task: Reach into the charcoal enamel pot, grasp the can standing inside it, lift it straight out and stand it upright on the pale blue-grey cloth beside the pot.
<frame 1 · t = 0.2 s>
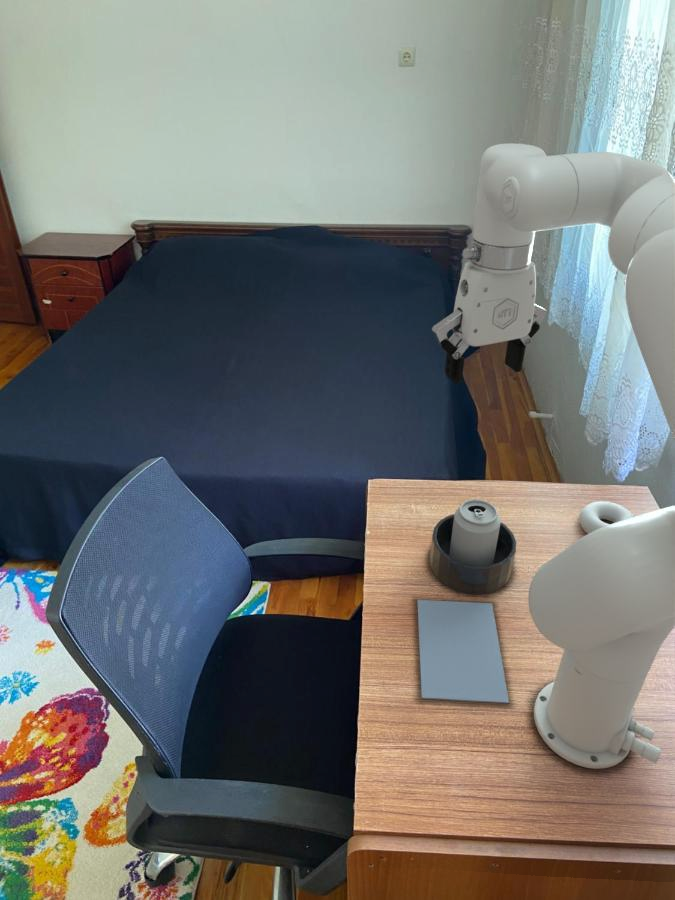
hand: (483, 373, 90), 37 cm above the table, tool pointing down, fingers open, 9 cm apart
can: (470, 564, 111), resting on pot
donut: (605, 529, 119), on the table
cloth: (459, 648, 97), on the table
pot: (470, 564, 111), on the table
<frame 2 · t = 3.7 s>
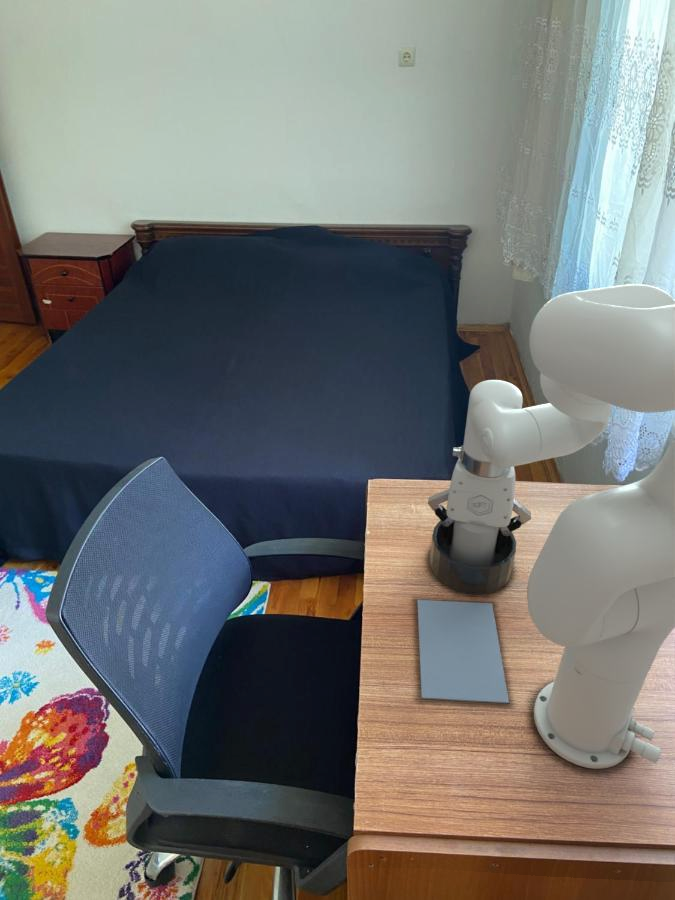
hand: (473, 543, 108), 5 cm above the table, tool pointing down, fingers closed on can, 7 cm apart
can: (470, 564, 111), resting on pot, touching gripper
everything else where it was.
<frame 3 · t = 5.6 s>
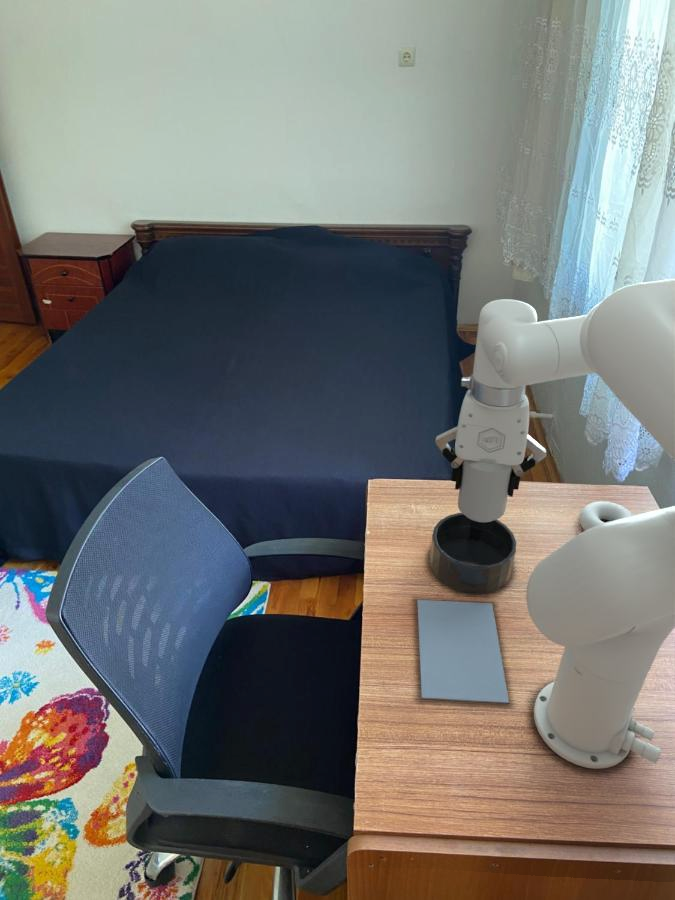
hand: (484, 487, 101), 17 cm above the table, tool pointing down, fingers closed on can, 7 cm apart
can: (480, 511, 104), point 12 cm above the table, touching gripper
everything else where it was.
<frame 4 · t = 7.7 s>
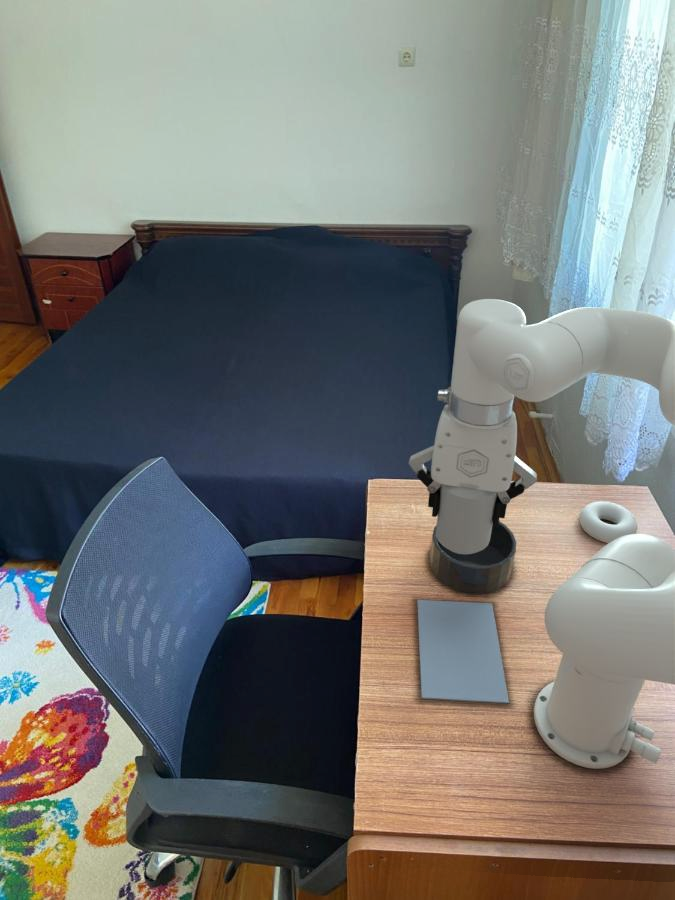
hand: (465, 514, 88), 22 cm above the table, tool pointing down, fingers closed on can, 7 cm apart
can: (461, 541, 90), point 18 cm above the table, touching gripper
everything else where it was.
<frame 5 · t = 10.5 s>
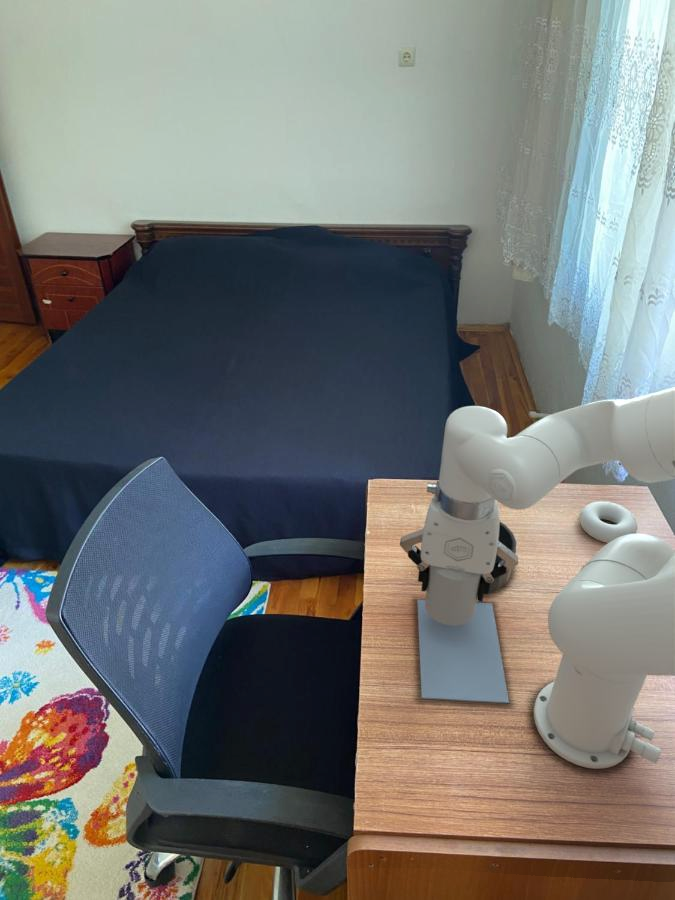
hand: (452, 588, 94), 9 cm above the table, tool pointing down, fingers closed on can, 7 cm apart
can: (449, 611, 97), point 4 cm above the table, touching gripper
everything else where it was.
when the fingers open (5 cm above the table, at t = 12.1 s): can stays where it is, resting on cloth.
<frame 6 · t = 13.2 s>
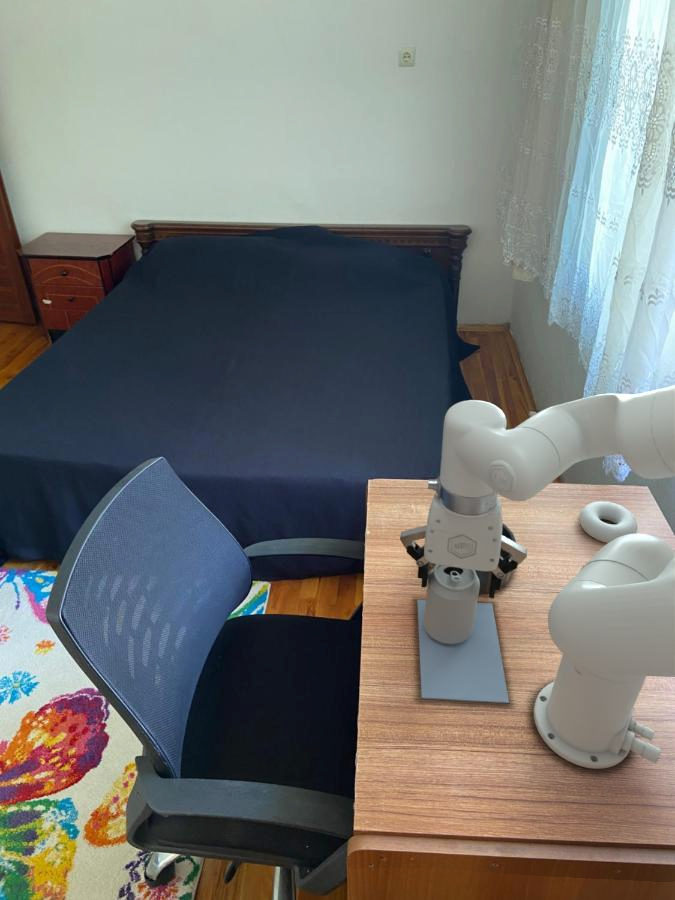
hand: (458, 586, 93), 10 cm above the table, tool pointing down, fingers open, 9 cm apart
can: (447, 628, 99), resting on cloth
everything else where it was.
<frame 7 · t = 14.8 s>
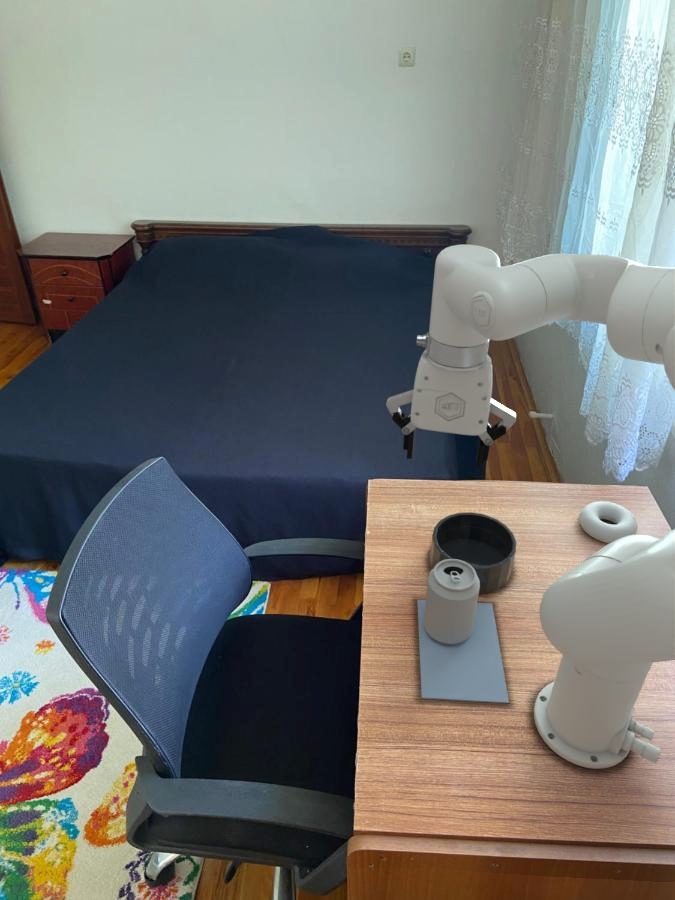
hand: (444, 458, 91), 27 cm above the table, tool pointing down, fingers open, 9 cm apart
nothing on the table moved.
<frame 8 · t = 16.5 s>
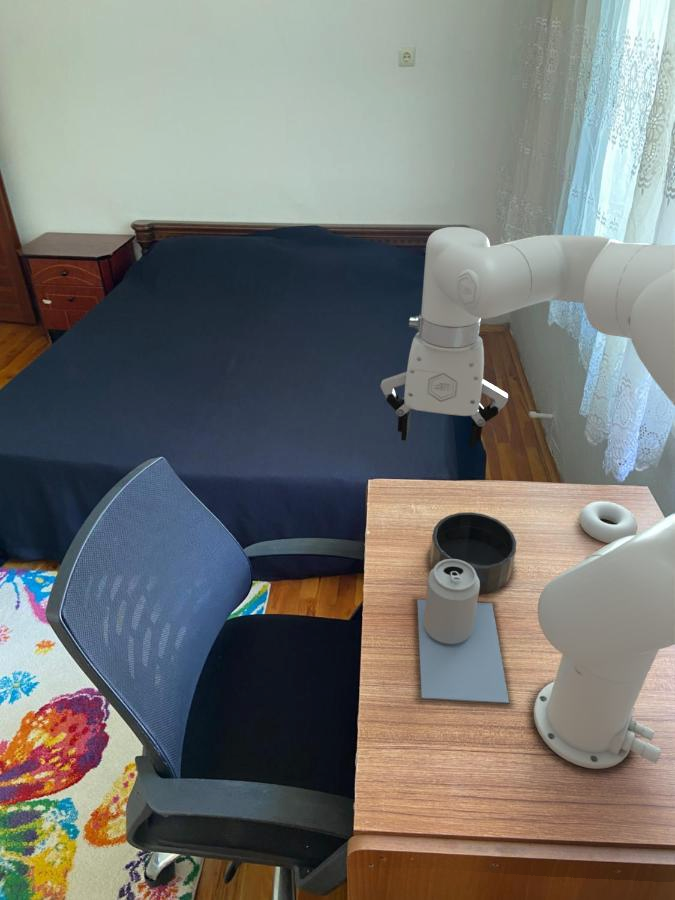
hand: (438, 439, 92), 28 cm above the table, tool pointing down, fingers open, 9 cm apart
nothing on the table moved.
at the end: can 0.3 cm from the target spot, resting on cloth; can tilted 0°; can touching cloth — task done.
